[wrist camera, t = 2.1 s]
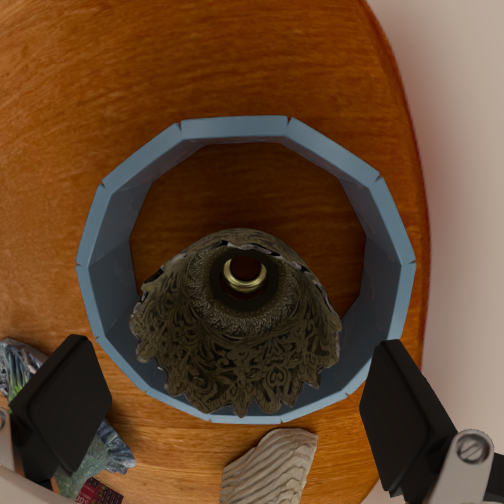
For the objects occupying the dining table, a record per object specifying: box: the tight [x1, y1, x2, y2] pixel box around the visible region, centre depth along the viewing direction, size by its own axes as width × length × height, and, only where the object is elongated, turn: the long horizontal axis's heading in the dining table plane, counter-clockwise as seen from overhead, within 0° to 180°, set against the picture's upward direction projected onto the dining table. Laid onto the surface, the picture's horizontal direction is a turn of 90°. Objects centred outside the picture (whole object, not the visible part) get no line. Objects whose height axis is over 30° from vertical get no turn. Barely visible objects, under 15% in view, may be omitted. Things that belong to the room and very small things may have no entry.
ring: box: [75, 115, 416, 424], centre depth 15 cm, size 16×16×5 cm
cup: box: [129, 228, 342, 418], centre depth 13 cm, size 8×7×8 cm
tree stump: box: [0, 338, 136, 501], centre depth 17 cm, size 18×20×18 cm
